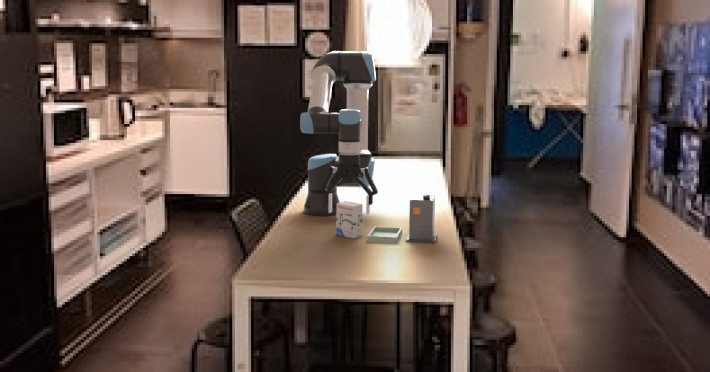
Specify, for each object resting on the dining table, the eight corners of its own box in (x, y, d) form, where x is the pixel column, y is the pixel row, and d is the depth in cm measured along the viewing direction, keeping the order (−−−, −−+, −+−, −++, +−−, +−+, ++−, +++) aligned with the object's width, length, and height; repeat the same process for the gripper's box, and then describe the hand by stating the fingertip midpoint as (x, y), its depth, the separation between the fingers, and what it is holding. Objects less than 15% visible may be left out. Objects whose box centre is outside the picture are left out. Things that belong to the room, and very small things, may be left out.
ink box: (335, 234, 281) (335, 202, 279) (344, 232, 285) (344, 200, 283) (354, 238, 276) (354, 206, 273) (362, 236, 279) (363, 203, 277)
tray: (367, 241, 272) (367, 235, 271) (373, 231, 286) (373, 226, 285) (396, 243, 270) (397, 237, 270) (402, 233, 284) (402, 227, 283)
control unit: (405, 241, 272) (406, 196, 269) (409, 234, 281) (409, 191, 278) (434, 243, 270) (435, 197, 267) (437, 236, 279) (438, 192, 276)
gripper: (312, 153, 273) (312, 213, 277) (382, 155, 269) (382, 216, 272) (317, 151, 281) (317, 209, 284) (386, 153, 276) (385, 212, 280)
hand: (349, 213), depth 278 cm, fingers open, 13 cm apart
